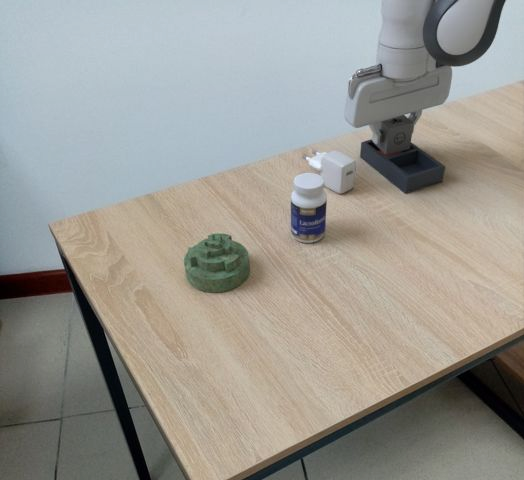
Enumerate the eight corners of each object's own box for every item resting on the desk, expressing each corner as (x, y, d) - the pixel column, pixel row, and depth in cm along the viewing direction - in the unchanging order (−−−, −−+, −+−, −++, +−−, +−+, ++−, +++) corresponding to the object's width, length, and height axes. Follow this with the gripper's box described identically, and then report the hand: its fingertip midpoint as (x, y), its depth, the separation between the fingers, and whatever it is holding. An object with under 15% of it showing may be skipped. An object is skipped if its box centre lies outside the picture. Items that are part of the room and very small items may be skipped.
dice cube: (385, 154, 99) (388, 128, 95) (373, 143, 102) (376, 117, 99) (409, 148, 100) (413, 122, 96) (396, 137, 103) (400, 112, 99)
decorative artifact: (187, 254, 87) (186, 295, 80) (179, 218, 81) (178, 258, 75) (247, 249, 87) (252, 289, 80) (244, 212, 82) (248, 251, 75)
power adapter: (298, 174, 102) (297, 145, 97) (316, 165, 104) (317, 136, 99) (338, 197, 96) (340, 167, 91) (357, 187, 97) (360, 157, 93)
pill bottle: (300, 248, 86) (300, 193, 79) (285, 229, 90) (283, 176, 82) (331, 238, 88) (334, 183, 80) (315, 220, 91) (316, 167, 84)
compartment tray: (394, 147, 107) (396, 132, 105) (442, 181, 97) (445, 166, 95) (359, 157, 105) (361, 142, 103) (405, 193, 95) (407, 178, 93)
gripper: (359, 78, 85) (353, 159, 95) (463, 51, 90) (447, 131, 100) (339, 66, 89) (336, 144, 99) (440, 41, 94) (426, 118, 104)
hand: (392, 137), depth 100 cm, fingers closed on dice cube, 5 cm apart
